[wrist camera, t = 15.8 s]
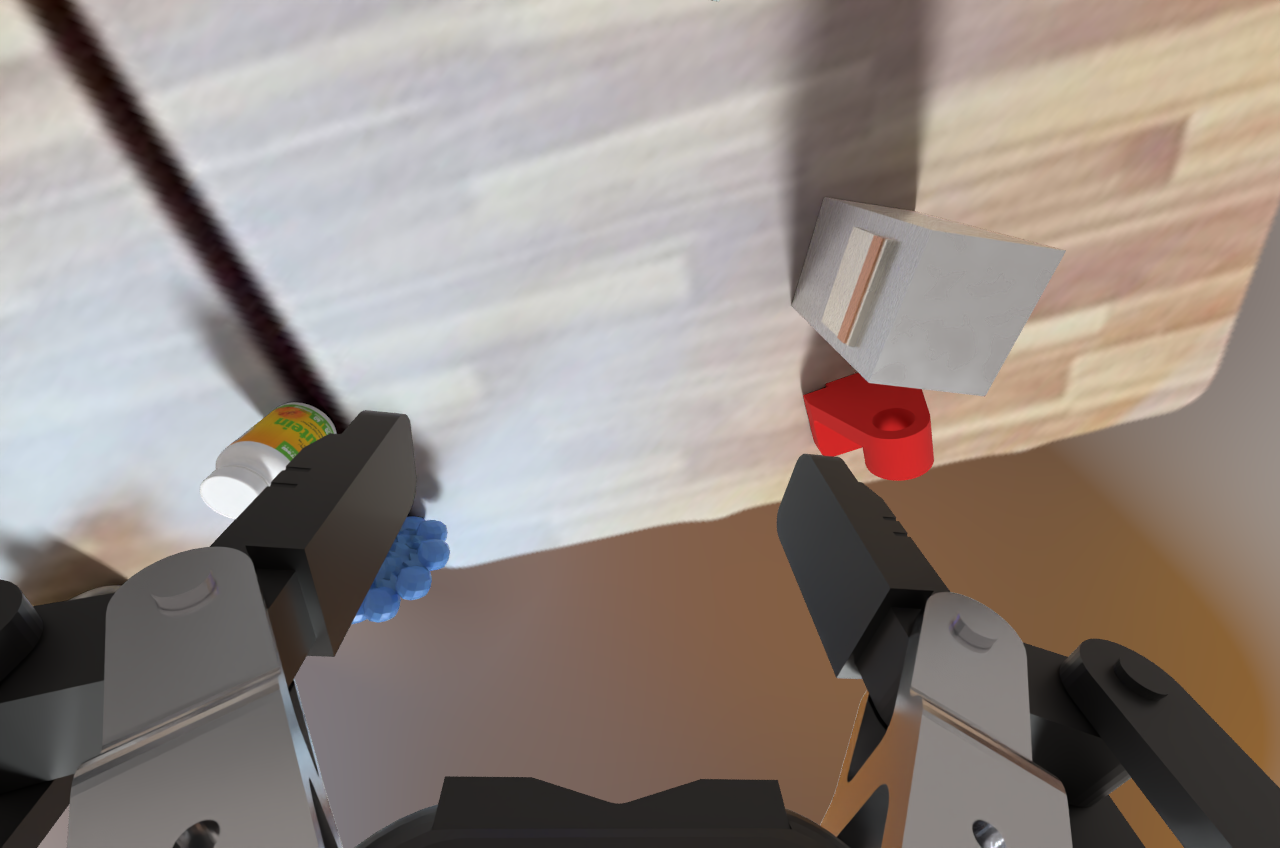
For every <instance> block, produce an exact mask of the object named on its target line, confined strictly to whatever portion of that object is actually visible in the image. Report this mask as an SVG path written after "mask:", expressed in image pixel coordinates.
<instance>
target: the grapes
mask: <svg viewBox="0 0 1280 848" xmlns="http://www.w3.org/2000/svg"><path fill="white" fill-rule="evenodd" d="M446 538H447V528H446V526H445V525H444V524H443V523H442V522H440V521H435V520H427V521H426V520H424V519H423V518H421V517H416V516H411V517H406V519H405V521H404V523H403V525H402V527H401V529H400V531H399V533H398V535H397V537H396V539H395V541H394V542H393V544H392V546H391V548H390V550H389V552H388V554H387V556H386V558H385V560H384V562H383V564H382V566H381V568H380V570H379V571H378V573H377V575H376V577H375V579H374V581H373V583H372V585H371V587H370V589H369V591H368V593H367V595H366V597H365V599H364V600H363V602H362V604H361V606H360V608H359V610H358V612H357V614H356V616H355V618H354V620H353V622H352V624H355V623H359V622H362V621H364V620H366V619H368V620H369V621H373V622H383V621H387V620H389V619H391V618H393V617H395V615H396V614H397V612H398V609H399V606H400V601H401V600H400V597H401V598H403V599H407V600H414V599H419V598H421V597H423V596H425V595H426V594H427V593H428V591H429V589H430V586H431V581H432V577H431V573H430V571H432V570H438V569H440V568H443V567H444V566H445V565H446V563H447V561H448V559H449V554H450V550H449V546H448V544H447V543H446V542H445V540H446ZM429 570H430V571H429Z"/></svg>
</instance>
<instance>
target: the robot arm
mask: <svg viewBox="0 0 1280 848" xmlns="http://www.w3.org/2000/svg"><path fill="white" fill-rule="evenodd" d="M415 492H416V470H415V461H414V452H413V442H412V433H411V424H410V420H409V418H408V416H407V415H406V414H398V413H387V412H377V411H367V410H365V411H362V412H360V413H359V414H358V416H357V417H356V418H355V419H354V420H353V421H352V422H351V424H350V425H349V426H348V427H347V428H346V429H345V431H344V432H343V433H342V434H333V433H330V434H328V435H326V436H324V437H322V438H320V439H319V440H317V441H315V442H313V443H311V444H309V445H308V446H306V447H304V448H303V449H302V450H301V451H300V452H299V453H298V454H297V455H296V456H295V457H294V458H293V459H292V460H291V461H290V462H289V463H288V465H287V466H286V469H285V470H282V471H281V472H280V473H279V474H278V475H277V476H276V477H275V478H274V479H273V480H272V481H271V485H270V486H267V487H266V488H265V489H264V490H263V491H262V492H261V493H260V494H259V495H258V496H257V497H256V498H255V499H254V500H253V501H252V503H251V504H250V505H249V506H248V507H247V508H246V509H245V510H244V511H243V512H242V513H241V514H240V515H239V516H238V517H237V518H236V519H235V520H234V522H233V523H232V524H231V525H230V526H229V527H228V528H227V529H226V530H225V531H224V532H223V533H222V534H221V535H220V536H219V537H218V538H217V539H216V540H215V542H214V543H213V544H212V545H211V546H210V547H204V548H198V549H192V550H188V551H184V552H181V553H178V554H175V555H172V556H169V557H166V558H164V559H162V560H160V561H157V562H155V563H153V564H151V565H150V566H148V567H146V568H144V569H143V570H141V571H139V572H138V573H136V574H135V575H134V576H132V577H131V578H130V579H128V580H127V581H126V582H125V583H124V584H123V585H122V586H121V587H120V588H119V589H118V590H117V591H116V592H115V593H110V594H104V595H98V596H92V597H86V598H80V599H74V600H68V601H62V602H56V603H50V604H44V605H38V606H32V605H31V603H30V602H29V601H28V599H27V598H26V597H25V595H24V594H23V593H22V591H21V590H20V589H19V588H18V587H17V586H16V585H15V584H13V583H11V582H8V581H4V580H0V848H37V847H38V846H39V845H40V843H41V842H42V840H43V839H44V838H45V836H46V835H47V834H48V832H49V831H50V829H51V828H52V827H53V826H54V824H55V823H56V821H57V820H58V819H59V817H60V816H61V815H62V813H63V812H64V811H65V809H66V808H67V806H68V805H69V804H70V807H69V823H68V836H67V848H343V846H342V843H341V839H340V836H339V832H338V829H337V826H336V823H335V819H334V816H333V813H332V810H331V807H330V804H329V801H328V797H327V794H326V791H325V787H324V784H323V780H322V776H321V773H320V769H319V765H318V762H317V758H316V754H315V751H314V747H313V743H312V740H311V736H310V732H309V729H308V725H307V722H306V718H305V714H304V710H303V707H302V703H301V699H300V696H299V692H298V688H297V685H296V682H295V679H294V677H295V676H296V674H297V672H298V670H299V668H300V667H301V665H302V663H303V661H304V660H305V658H306V656H331V657H334V656H335V654H336V653H337V651H338V649H339V647H340V645H341V643H342V641H343V639H344V637H345V635H346V633H347V631H348V629H349V628H350V626H351V624H352V622H353V620H354V618H355V616H356V614H357V612H358V610H359V608H360V606H361V604H362V602H363V600H364V599H365V597H366V595H367V593H368V591H369V589H370V587H371V585H372V583H373V581H374V579H375V577H376V575H377V573H378V571H379V570H380V568H381V566H382V564H383V562H384V560H385V558H386V556H387V554H388V552H389V550H390V548H391V546H392V544H393V542H394V541H395V539H396V537H397V535H398V533H399V531H400V529H401V527H402V525H403V523H404V521H405V519H406V517H407V515H408V513H409V511H410V509H411V507H412V504H413V501H414V497H415ZM777 532H778V536H779V539H780V541H781V544H782V546H783V549H784V551H785V554H786V556H787V559H788V560H789V563H790V566H791V568H792V571H793V573H794V576H795V578H796V580H797V583H798V585H799V587H800V590H801V592H802V595H803V597H804V600H805V602H806V604H807V607H808V610H809V612H810V615H811V617H812V619H813V622H814V624H815V627H816V629H817V632H818V634H819V636H820V639H821V641H822V644H823V646H824V648H825V651H826V653H827V656H828V658H829V661H830V663H831V665H832V668H833V670H834V673H835V675H836V678H850V679H851V678H852V679H863V681H864V683H865V685H866V688H867V691H866V693H865V694H864V696H863V697H862V699H861V702H860V705H859V708H858V712H857V716H856V719H855V723H854V726H853V730H852V733H851V738H850V741H849V744H848V748H847V751H846V755H845V759H844V762H843V766H842V769H841V773H840V777H839V780H838V784H837V787H836V791H835V793H834V796H833V799H832V802H831V804H830V806H829V808H828V810H827V812H826V814H825V816H824V818H823V820H822V822H821V824H820V825H818V824H817V823H815V822H813V821H811V820H810V819H808V818H806V817H804V816H802V815H800V814H798V813H795V812H793V811H791V810H789V809H785V807H784V803H783V799H782V795H781V791H780V787H779V784H778V780H726V779H725V780H724V779H700V780H697V781H694V782H691V783H688V784H684V785H681V786H678V787H675V788H672V789H669V790H666V791H662V792H659V793H656V794H653V795H650V796H647V797H643V798H640V799H637V800H634V801H631V802H628V803H623V804H615V803H610V802H607V801H604V800H600V799H597V798H594V797H591V796H588V795H585V794H582V793H579V792H576V791H573V790H570V789H566V788H563V787H560V786H557V785H554V784H551V783H548V782H545V781H542V780H538V779H535V778H532V777H528V778H527V777H445V779H444V783H443V787H442V791H441V795H440V800H439V803H438V805H435V806H432V807H428V808H425V809H422V810H420V811H417V812H415V813H413V814H410V815H408V816H406V817H403V818H401V819H399V820H397V821H395V822H393V823H392V824H390V825H388V826H386V827H385V828H383V829H381V830H379V831H378V832H376V833H375V834H373V835H372V836H370V837H369V838H367V839H366V840H365V841H363V842H362V843H360V844H359V845H357V846H356V847H355V848H1145V846H1144V845H1143V844H1142V842H1141V841H1140V839H1139V838H1138V836H1137V835H1136V833H1135V832H1134V831H1133V829H1132V828H1131V826H1130V825H1129V823H1128V822H1127V821H1126V819H1125V818H1124V816H1123V815H1122V813H1121V812H1120V811H1119V809H1118V808H1117V806H1116V805H1115V803H1114V802H1113V801H1112V799H1111V798H1110V796H1109V795H1108V794H1110V793H1111V792H1112V791H1114V790H1115V789H1117V788H1118V787H1119V786H1121V785H1122V784H1123V783H1125V782H1126V781H1127V780H1129V779H1130V778H1132V779H1133V780H1134V782H1135V783H1136V784H1137V786H1138V787H1139V788H1140V790H1141V791H1142V792H1143V794H1144V795H1145V796H1146V798H1147V799H1148V800H1149V801H1150V803H1151V804H1152V805H1153V807H1154V808H1155V809H1156V811H1157V812H1158V813H1159V815H1160V816H1161V817H1162V819H1163V820H1164V821H1165V823H1166V824H1167V825H1168V827H1169V828H1170V829H1171V831H1172V832H1173V833H1174V835H1175V836H1176V837H1177V839H1178V840H1179V841H1180V843H1181V844H1182V845H1183V847H1184V848H1280V788H1279V787H1278V786H1277V785H1276V784H1275V783H1274V782H1273V781H1272V780H1271V779H1270V778H1269V777H1268V776H1267V775H1266V774H1265V773H1264V772H1263V770H1262V769H1261V768H1260V767H1259V766H1258V765H1257V764H1256V763H1255V762H1254V761H1253V760H1252V759H1251V758H1250V757H1249V756H1248V755H1247V754H1246V753H1245V752H1244V751H1243V750H1242V749H1241V748H1240V747H1239V746H1238V745H1237V744H1236V743H1235V742H1234V740H1232V738H1231V737H1230V736H1229V735H1228V734H1227V733H1226V732H1225V731H1224V730H1223V729H1222V728H1221V727H1220V726H1219V725H1218V724H1217V723H1216V722H1215V721H1214V720H1213V719H1212V718H1211V717H1210V716H1209V715H1208V714H1207V713H1206V712H1205V711H1204V709H1203V708H1202V707H1201V706H1200V705H1199V704H1198V703H1197V702H1196V701H1195V700H1194V699H1193V698H1192V697H1191V696H1190V695H1189V694H1188V693H1187V692H1186V691H1185V690H1184V689H1183V688H1182V687H1181V686H1180V685H1179V684H1178V683H1177V682H1176V681H1175V680H1174V679H1173V678H1172V677H1171V676H1169V675H1168V674H1167V673H1166V672H1164V671H1163V670H1162V669H1161V668H1160V667H1158V666H1157V665H1155V664H1154V663H1153V662H1151V661H1149V660H1148V659H1146V658H1145V657H1143V656H1142V655H1140V654H1138V653H1136V652H1134V651H1132V650H1130V649H1128V648H1126V647H1124V646H1122V645H1119V644H1117V643H1114V642H1111V641H1107V640H1102V639H1088V640H1086V641H1084V642H1082V643H1081V644H1080V645H1079V647H1078V648H1077V649H1076V650H1075V651H1074V652H1073V653H1072V654H1071V655H1070V656H1069V657H1066V656H1063V655H1060V654H1057V653H1054V652H1051V651H1047V650H1044V649H1041V648H1038V647H1035V646H1032V645H1029V644H1025V643H1023V642H1022V641H1021V639H1020V637H1019V636H1018V635H1017V633H1016V632H1015V631H1014V629H1013V628H1012V627H1011V626H1010V625H1009V624H1008V623H1007V622H1006V621H1005V620H1004V619H1003V618H1002V617H1000V616H999V615H998V614H997V613H995V612H994V611H993V610H991V609H990V608H988V607H986V606H985V605H983V604H982V603H979V602H978V601H976V600H973V599H971V598H969V597H966V596H964V595H961V594H956V593H951V592H950V591H949V590H948V588H947V587H946V585H945V584H944V583H943V581H942V580H941V578H940V577H939V576H938V574H937V573H936V572H935V570H934V569H933V567H932V566H931V565H930V563H929V562H928V561H927V559H926V558H925V557H924V555H923V554H922V552H921V551H920V550H919V548H918V547H917V546H916V544H915V543H914V541H913V540H912V539H911V537H907V532H906V531H905V529H904V528H903V526H902V525H901V524H900V522H899V521H896V517H895V516H894V514H893V513H892V511H891V510H890V509H889V507H888V506H887V505H886V503H885V502H884V500H883V499H882V498H881V497H879V496H878V495H877V494H876V493H874V492H873V491H872V490H871V489H869V488H868V487H867V486H866V485H864V484H863V483H862V482H858V481H857V479H856V478H855V477H854V475H853V474H852V472H851V471H850V469H849V468H848V467H847V465H846V464H845V462H844V461H843V460H842V459H841V458H839V457H833V456H823V455H812V454H803V455H801V456H800V457H799V459H798V460H797V463H796V465H795V468H794V470H793V473H792V475H791V478H790V481H789V483H788V486H787V488H786V491H785V494H784V496H783V499H782V502H781V504H780V507H779V510H778V514H777Z"/></svg>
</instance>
